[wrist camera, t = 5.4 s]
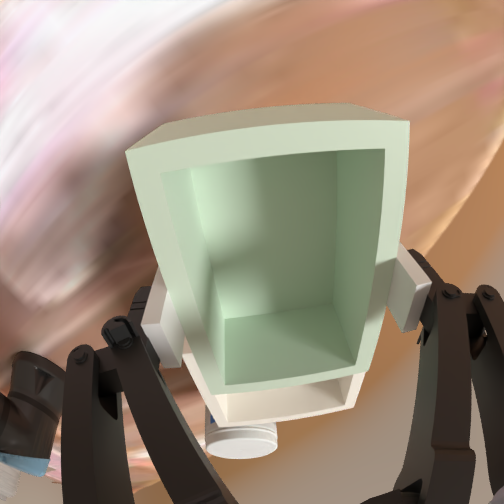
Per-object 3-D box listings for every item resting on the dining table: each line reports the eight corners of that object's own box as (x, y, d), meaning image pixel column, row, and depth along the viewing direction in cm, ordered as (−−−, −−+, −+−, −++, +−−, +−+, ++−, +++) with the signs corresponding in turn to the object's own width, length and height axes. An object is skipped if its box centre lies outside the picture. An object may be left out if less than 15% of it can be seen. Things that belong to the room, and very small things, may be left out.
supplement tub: (222, 337, 40) (222, 433, 28) (279, 353, 43) (294, 441, 31) (197, 371, 45) (194, 454, 32) (250, 384, 48) (256, 462, 35)
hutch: (219, 336, 40) (218, 427, 28) (195, 252, 33) (180, 354, 21) (326, 321, 40) (353, 407, 28) (330, 234, 32) (378, 325, 21)
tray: (213, 324, 21) (211, 394, 16) (163, 123, 14) (124, 151, 8) (342, 305, 21) (368, 370, 16) (348, 103, 13) (409, 121, 8)
